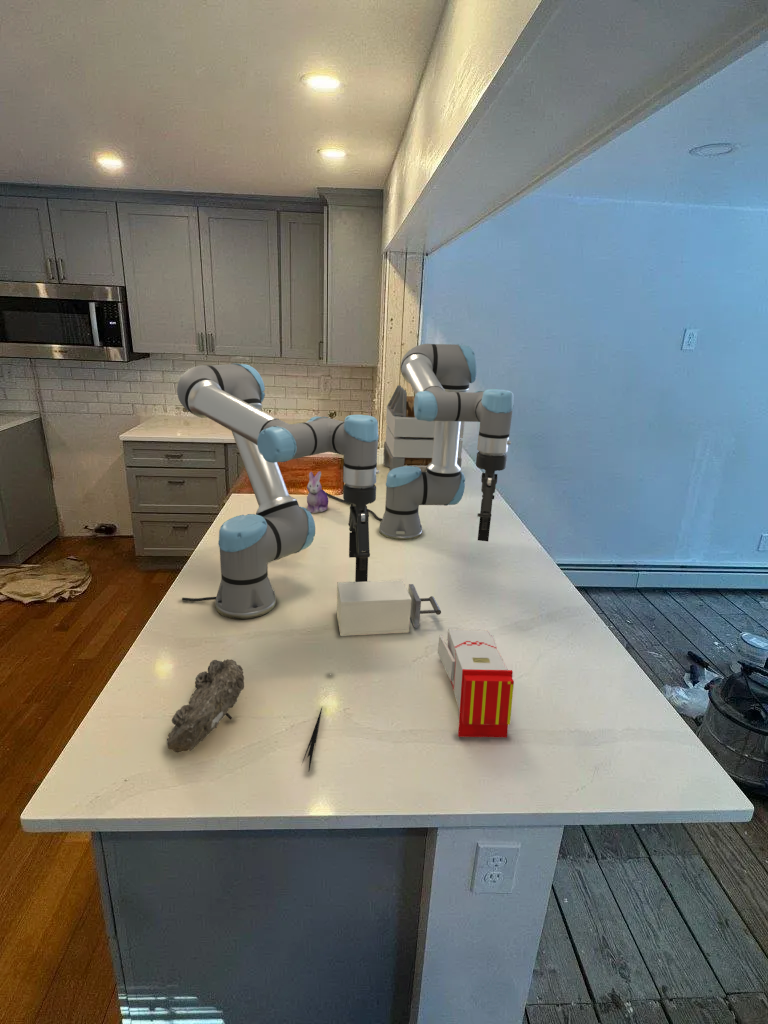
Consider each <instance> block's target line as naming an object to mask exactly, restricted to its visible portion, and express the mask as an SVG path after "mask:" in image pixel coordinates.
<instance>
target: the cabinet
mask: <svg viewBox="0 0 768 1024" xmlns="http://www.w3.org/2000/svg"><path fill="white" fill-rule="evenodd" d="M410 611H411V597H410V595H409V593H408V589H407V586H406V583H405V581H404V580H403V579H391V580H367V582H356V581H340V582H339V581H338V582H337V583H336V619H337V625H338V631H339V637H348V636H349V637H350V636H367V635H369V636H370V635H385V634H386V635H387V634H405V633H407V634H408V633H410V626H411V625H410V624H411V618H410Z"/></svg>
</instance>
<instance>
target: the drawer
mask: <svg viewBox="0 0 768 1024" xmlns="http://www.w3.org/2000/svg"><path fill="white" fill-rule="evenodd" d="M407 590H408V593H409V595H410V597H411V611H410V621H411V622H412V625H413V627H414V628H420V621H421V620H420V619H421V615H426V614H429V615H430V614H435V615H437V616H439V615H441V614H442V610H441V609H440V606H439V605H438V603H437V600H436V598H435V597H434V596H433V595H430V596H429V597H422V598H421V597H420V596H419V593H418V591H417V589H416V587H415V584H414V583H408V589H407ZM422 602H429V604H430V605H431V606H432V609H429V610H428V609H427V610H421V607H422Z"/></svg>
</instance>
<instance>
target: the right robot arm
mask: <svg viewBox="0 0 768 1024" xmlns="http://www.w3.org/2000/svg"><path fill="white" fill-rule="evenodd" d="M400 373H401V376H402V378H403V379H404V381H406V382H407V383H408V384H410V387H411V388H412V390H413V393H414V396H415V398H414V415H415V417H416V419H417V420H424V421H435V429H434V441H433V453H432V462H431V463H430V464H428V465H427V466H426V471H422V469H421V467H420V466H407V465H404V466H403V467H397V468H394V469H392V470H391V471H390V470H388V473H387V475H386V480H385V481H386V482H385V487H386V488H385V504H384V505H385V507H384V508H385V509H384V513H383V515H382V517H378V516H377V515H376V513H375V512H374V511H372V510H371V509H369V508H367V510H369V514H371V515H372V516H373V518H375V519H376V520H377V521H379V527H378V533H379V534H380V535H381V536H382V537H385V538H387V539H389V540H395V541H410V540H415V539H418V538H420V537H421V536H422V535H423V525H422V524H421V518H420V515H419V507H420V506H447V507H448V506H454V505H455V506H456V505H458V504H459V503H460V502H461V501H462V499H463V496H464V493H465V489H466V483H465V482H466V477H465V474H464V472H462V467H461V468H460V467H459V466H458V465H457V456H458V446H459V436H460V426H461V421H464V423H465V422H466V423H467V422H468V423H469V422H470V423H472V422H474V423H476V422H477V423H479V428H478V429H479V430H478V435H477V445H476V450H477V452H476V458H475V466H476V468H478V469H480V470H484V472H482V473H481V481H480V483H481V491H480V492H482V493H481V494H482V495H481V497H482V498H481V501H480V502H481V503H480V513H477V518H479V523H478V532H477V541H479V542H489V538H490V532H491V531H490V528H491V520H492V509H493V500H495V495H494V494H495V493H496V486H497V483H498V473H495V472H496V471H504V470H505V469H506V467H507V459H508V455H507V454H506V453H508V449H509V445H511V444H512V441H511V440H510V433H511V426H512V417H513V410H514V407H515V406H514V398H515V397H514V393H513V392H512V391H511V390H509V389H508V390H506V389H502V388H501V389H500V388H488V389H485V390H484V391H483V390H476V391H474V392H470V391H469V389H470V384H473V383H475V382H476V379H477V375H478V374H477V373H478V363H477V357H476V353H475V351H474V349H473V348H472V347H471V346H470V345H465V344H464V345H463V344H453V343H452V344H449V343H448V344H447V343H446V344H443V343H421V344H418V345H415V346H413V347H412V348H411V349H409V350H408V351H407V352H406V353H405V354H404V355H403V357H402V359H401V362H400ZM468 391H469V392H468ZM460 471H461V472H460ZM326 494H327V496H328V498H331V499H334V500H336V501H339V502H342V503H344V504H347V505H349V506H350V505H351V504H350V503H347V502H346V501H345V500H344V499H343V498H339V497H337V496H335V495H332V494H330V493H329V492H328V493H327V492H326Z"/></svg>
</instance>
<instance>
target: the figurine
mask: <svg viewBox="0 0 768 1024" xmlns="http://www.w3.org/2000/svg"><path fill="white" fill-rule="evenodd" d="M321 477H322V471H321V470H318V471H317V473H316V474H315V475H314V473H313V471H309V473H308V479H309V481H308V483H307V486H306V489H307V492H308V494H307V496H306V504H307V507H306V509H307V510H308V511H309V512H310V513H311V514H312V513H313V514H317V513H322V512H325V511H327V510H328V509H329V496H327V494H326V493H327V492H326V491H325V490H324V489H323V488H322V487H323V486H322V484H321V482H320V480H321Z"/></svg>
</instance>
